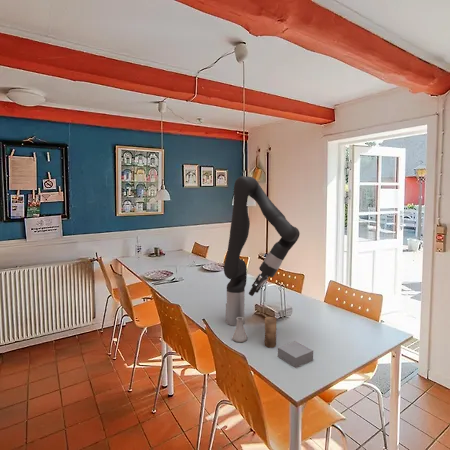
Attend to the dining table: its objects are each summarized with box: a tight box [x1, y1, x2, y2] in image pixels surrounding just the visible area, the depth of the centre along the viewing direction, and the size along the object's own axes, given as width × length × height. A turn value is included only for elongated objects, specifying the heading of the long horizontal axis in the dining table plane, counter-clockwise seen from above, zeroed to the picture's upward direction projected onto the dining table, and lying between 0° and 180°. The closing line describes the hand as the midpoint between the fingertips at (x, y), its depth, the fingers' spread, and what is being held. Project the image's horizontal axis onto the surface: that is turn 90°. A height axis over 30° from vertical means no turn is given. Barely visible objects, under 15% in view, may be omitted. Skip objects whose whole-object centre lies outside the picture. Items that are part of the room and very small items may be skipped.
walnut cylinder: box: [264, 316, 277, 349], centre depth 138 cm, size 5×5×12 cm
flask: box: [231, 317, 249, 343], centre depth 144 cm, size 7×7×10 cm
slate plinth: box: [277, 340, 314, 369], centre depth 127 cm, size 10×10×4 cm
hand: (253, 293), depth 145 cm, fingers open, 8 cm apart
